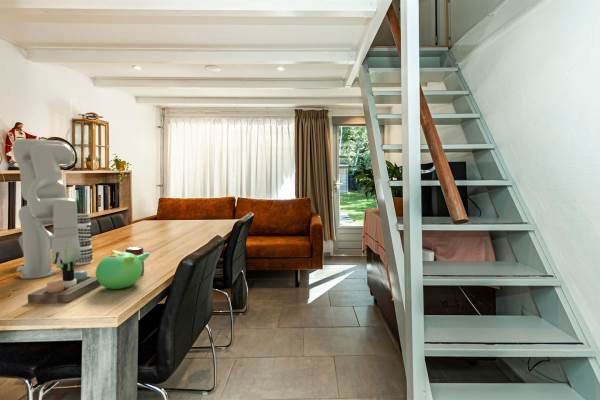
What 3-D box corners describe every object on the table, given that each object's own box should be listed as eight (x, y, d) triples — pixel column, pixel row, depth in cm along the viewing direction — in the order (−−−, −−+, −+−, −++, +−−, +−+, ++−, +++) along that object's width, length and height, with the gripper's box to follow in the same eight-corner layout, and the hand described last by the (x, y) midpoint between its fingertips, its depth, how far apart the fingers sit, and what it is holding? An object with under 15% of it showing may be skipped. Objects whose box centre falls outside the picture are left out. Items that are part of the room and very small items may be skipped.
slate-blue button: (69, 283, 136) (69, 273, 136) (77, 280, 141) (77, 270, 141) (82, 283, 136) (82, 273, 136) (90, 279, 141) (89, 270, 141)
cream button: (57, 292, 129) (57, 282, 129) (66, 288, 134) (66, 278, 134) (71, 292, 129) (70, 282, 129) (79, 288, 134) (79, 278, 134)
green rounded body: (110, 281, 146) (109, 246, 145) (151, 280, 148) (150, 245, 147) (87, 295, 128) (86, 256, 127) (135, 294, 130) (133, 255, 129)
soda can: (137, 277, 152) (136, 250, 151) (122, 276, 153) (121, 249, 152) (147, 272, 159) (146, 246, 158) (133, 272, 160) (132, 246, 159)
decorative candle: (88, 259, 185) (86, 212, 183) (97, 262, 179) (95, 213, 178) (69, 263, 177) (67, 214, 176) (77, 265, 172) (75, 215, 170)
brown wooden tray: (28, 303, 121) (27, 294, 121) (69, 283, 143) (68, 276, 142) (68, 302, 121) (68, 294, 121) (103, 283, 143) (103, 276, 143)
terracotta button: (43, 295, 122) (43, 284, 122) (53, 291, 127) (53, 280, 127) (58, 295, 122) (57, 284, 122) (67, 291, 127) (67, 280, 127)
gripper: (69, 229, 138) (71, 275, 139) (41, 235, 123) (44, 286, 124) (88, 229, 138) (90, 274, 139) (62, 235, 123) (65, 286, 124)
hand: (68, 280), depth 131 cm, fingers closed
